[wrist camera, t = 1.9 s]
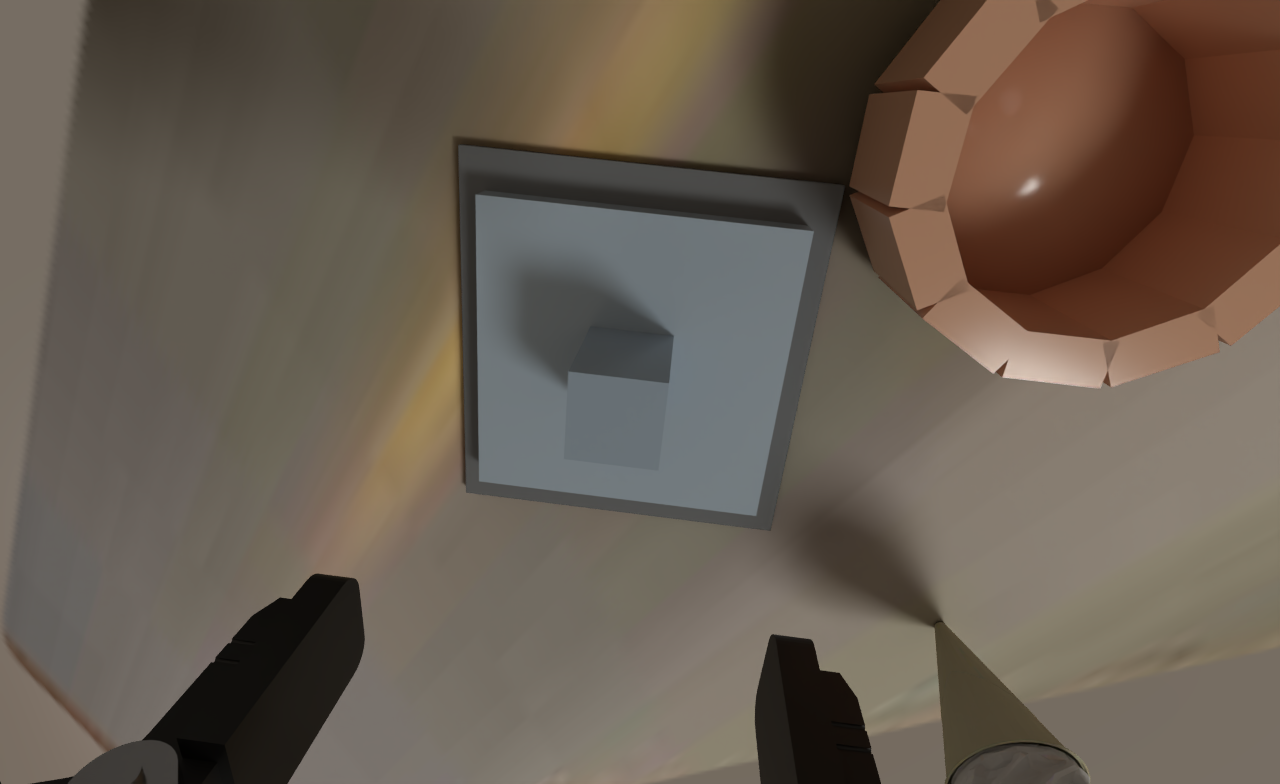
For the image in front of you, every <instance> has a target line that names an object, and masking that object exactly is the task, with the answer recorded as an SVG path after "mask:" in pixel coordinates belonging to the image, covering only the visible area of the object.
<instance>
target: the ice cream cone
mask: <svg viewBox="0 0 1280 784" xmlns="http://www.w3.org/2000/svg"><path fill="white" fill-rule="evenodd" d="M935 639H936V652H937V665H938V679H939V692H940V705H941V719H942V724H943V725H942V726H943V738H944V752H945V766H946V777H947V778H946V780H945V784H1090V774H1089V771H1088V768H1087V767H1086V765H1085V763H1084V762H1083V761H1082V760H1081V759H1080V758H1079V757H1078V756H1077V755H1076V754H1075V753H1073V752H1072V751H1070V750H1069V749H1067V748H1065V747H1064V746H1063V745H1062V744H1061V743H1060V742H1059V741H1058V740H1057V739H1056V738H1055V737H1054V736H1053V735H1052V734H1051V733H1050V732H1049V731H1048V730H1047V729H1046V728H1045V727H1044V725H1043V724H1042V723H1040V722H1039V720H1038V719H1037V718H1036V717H1035V716H1034V715H1033V714H1032V713H1031V712H1030V711H1029V709H1028V708H1027V707H1025V706H1024V704H1023V703H1022V702H1021V701H1020V700H1019V699H1018V698H1017V697H1016V696H1015V695H1014V694H1013V693H1012V692H1011V691H1010V690H1009V689H1008V688H1007V687H1006V686H1005V685H1004V684H1003V683H1002V682H1001V681H1000V680H999V679H998V678H997V677H996V676H995V675H994V674H993V673H992V672H991V671H990V670H989V669H988V668H987V667H986V666H985V665H984V664H983V662H982V661H981V660H980V659H979V658H978V657H977V656H976V655H975V654H974V653H973V652H972V651H971V650H970V649H969V648H968V647H967V646H966V645H965V644H964V643H963V642H962V641H961V640H960V639H959V638H958V637H957V636H956V635H955V634H954V633H953V632H952V631H951V630H950V629H949V628H948V627H947V626H946V625H945V623H943V622H938V623H936V624H935Z"/></svg>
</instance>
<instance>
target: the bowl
mask: <svg viewBox="0 0 1280 784" xmlns="http://www.w3.org/2000/svg"><path fill="white" fill-rule="evenodd" d="M874 85H875V86H876V87H877V88H879V89H880V90H881V91H882V92H883V93H878V94H869V98H868V103H867V107H866V112H865V116H864V121H863V125H862V130H861V135H860V139H859V144H858V148H857V153H856V157H855V162H854V166H853V171H852V176H851V180H850V185H849V186H850V187H852V188H854V189H856V190H858V192H856V193H853V194H851V195H850V198H851V201H852V205H853V208H854V211H855V214H856V217H857V220H858V223H859V226H860V229H861V233H862V236H863V239H864V242H865V245H866V248H867V251H868V254H869V257H870V261H871V264H872V267H873V270H874V272H876V273H877V274H878V275H879V277H878V278H880V279H881V280H882V281H883V282H884V283H885V284H886V285H887V286H888V287H889V288H890V289H891V290H892V291H894V292H895V293H896V294H897V295H898V296H899V297H900V298H901V299H902V300H903V301H904V302H905V303H906V304H908V305H909V306H910V307H911V308H912V309H913V310H914V311H915V312H916V313H917V314H918V315H919V316H920V317H922V318H923V319H924V320H925V321H926V322H928V323H929V324H930V325H932V326H933V327H934V328H935V329H937V330H938V331H939V332H941V333H942V334H943V335H944V336H946V337H947V338H948V339H949V340H951V341H952V342H953V343H955V344H956V345H957V346H958V347H960V348H961V349H962V350H964V351H965V352H966V353H967V354H969V355H970V356H971V357H972V358H974V359H975V360H976V361H978V362H979V363H980V364H981V365H983V366H984V367H985V368H987V369H988V370H989V371H990V372H992V373H993V374H994V373H995V372H997V373H998V374H999V375H1000V376H1001V377H1004V378H1013V379H1021V380H1030V381H1039V382H1047V383H1056V384H1065V385H1073V386H1082V387H1090V388H1099V389H1100V388H1101V385H1102V383H1103V382H1104V383H1105V384H1107V385H1108V386H1110V387H1114V386H1117V385H1120V384H1123V383H1126V382H1129V381H1132V380H1135V379H1138V378H1141V377H1145V376H1148V375H1151V374H1154V373H1157V372H1160V371H1163V370H1166V369H1169V368H1172V367H1175V366H1178V365H1181V364H1184V363H1187V362H1190V361H1194V360H1197V359H1200V358H1203V357H1206V356H1209V355H1212V354H1215V353H1218V352H1220V350H1219V342H1218V340H1219V341H1221V342H1223V343H1226V344H1228V345H1230V346H1231V345H1233V344H1234V343H1235V342H1236V341H1237V340H1239V339H1240V338H1241V337H1242V336H1244V335H1245V334H1246V333H1247V332H1249V331H1250V330H1251V329H1252V328H1253V327H1255V326H1256V325H1257V324H1258V323H1260V322H1261V321H1262V320H1263V319H1264V318H1266V317H1267V316H1268V315H1269V314H1271V313H1272V312H1273V311H1274V310H1275V309H1277V308H1278V307H1279V306H1280V0H940V1H939V3H938V4H937V5H936V6H935V8H934V9H933V10H932V11H931V13H930V14H929V15H928V17H927V18H926V19H925V20H924V22H923V23H922V24H921V25H920V27H919V28H918V29H917V30H916V32H915V33H914V34H913V36H912V37H911V38H910V39H909V41H908V42H907V43H906V44H905V46H904V47H903V48H902V50H901V51H900V52H899V53H898V55H897V56H896V57H895V58H894V60H893V61H892V62H891V64H890V65H889V66H888V67H887V69H886V70H885V71H884V72H883V74H882V75H881V76H880V77H879V79H878V80H877V81H876V83H875V84H874Z"/></svg>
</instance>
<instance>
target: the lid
mask: <svg viewBox="0 0 1280 784" xmlns="http://www.w3.org/2000/svg"><path fill="white" fill-rule="evenodd" d="M475 199H476V278H477V356H478V435H479V481H481V482H489V483H497V484H505V485H512V486H520V487H528V488H536V489H544V490H552V491H560V492H568V493H576V494H584V495H592V496H600V497H608V498H616V499H624V500H632V501H640V502H648V503H656V504H664V505H672V506H680V507H688V508H696V509H704V510H712V511H720V512H728V513H736V514H744V515H752V516H756V514H757V509H758V504H759V499H760V495H761V490H762V485H763V480H764V475H765V470H766V465H767V460H768V455H769V450H770V445H771V440H772V435H773V431H774V426H775V421H776V416H777V411H778V406H779V401H780V396H781V391H782V386H783V381H784V376H785V371H786V367H787V362H788V357H789V352H790V347H791V342H792V337H793V332H794V327H795V322H796V317H797V312H798V307H799V303H800V298H801V293H802V288H803V283H804V278H805V273H806V268H807V263H808V258H809V253H810V248H811V243H812V239H813V234H814V231H813V230H812V229H811V228H810V227H809V226H808V225H799V224H790V223H780V222H771V221H762V220H753V219H744V218H734V217H725V216H716V215H707V214H697V213H688V212H679V211H670V210H661V209H651V208H642V207H633V206H624V205H615V204H605V203H596V202H587V201H578V200H568V199H559V198H550V197H541V196H532V195H522V194H513V193H504V192H495V191H483V192H481V193H478V194H475Z"/></svg>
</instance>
